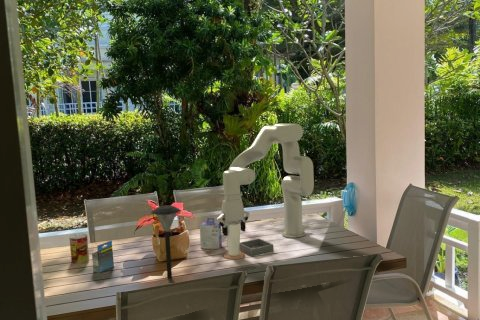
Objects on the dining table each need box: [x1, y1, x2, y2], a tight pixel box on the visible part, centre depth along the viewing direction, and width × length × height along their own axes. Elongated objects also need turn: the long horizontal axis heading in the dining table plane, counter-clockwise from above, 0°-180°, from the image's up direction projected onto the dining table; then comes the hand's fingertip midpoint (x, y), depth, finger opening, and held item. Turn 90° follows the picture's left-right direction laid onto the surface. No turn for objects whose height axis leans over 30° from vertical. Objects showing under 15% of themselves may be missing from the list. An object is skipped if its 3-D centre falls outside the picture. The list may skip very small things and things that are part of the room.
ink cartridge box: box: [199, 217, 223, 250], centre depth 235 cm, size 10×6×14 cm, turn 79°
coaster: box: [223, 251, 246, 260], centre depth 221 cm, size 10×10×1 cm
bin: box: [239, 238, 274, 257], centre depth 227 cm, size 12×12×4 cm
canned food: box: [69, 233, 90, 265], centre depth 222 cm, size 8×8×12 cm
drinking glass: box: [225, 221, 241, 256], centre depth 220 cm, size 7×7×15 cm
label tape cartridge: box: [91, 239, 115, 274], centre depth 209 cm, size 9×4×12 cm, turn 150°
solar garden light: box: [150, 204, 181, 279], centre depth 195 cm, size 12×12×30 cm
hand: (234, 233), depth 220 cm, fingers open, 9 cm apart
